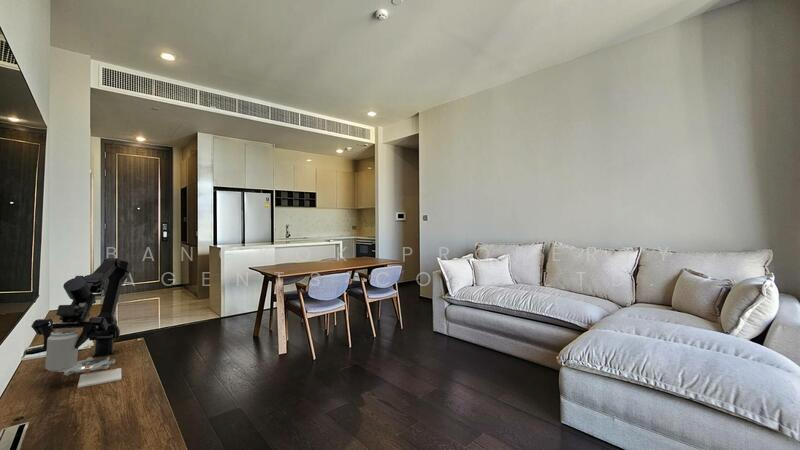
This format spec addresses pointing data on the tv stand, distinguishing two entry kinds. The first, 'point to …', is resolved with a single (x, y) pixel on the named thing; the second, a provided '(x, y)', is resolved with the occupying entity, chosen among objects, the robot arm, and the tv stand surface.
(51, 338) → the can
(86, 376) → the pad
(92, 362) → the sprocket
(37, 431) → the tv stand surface
